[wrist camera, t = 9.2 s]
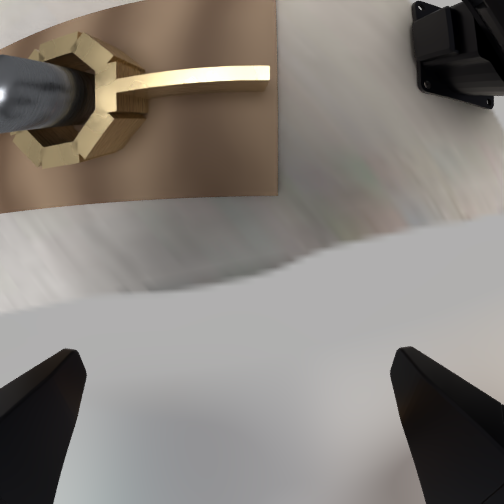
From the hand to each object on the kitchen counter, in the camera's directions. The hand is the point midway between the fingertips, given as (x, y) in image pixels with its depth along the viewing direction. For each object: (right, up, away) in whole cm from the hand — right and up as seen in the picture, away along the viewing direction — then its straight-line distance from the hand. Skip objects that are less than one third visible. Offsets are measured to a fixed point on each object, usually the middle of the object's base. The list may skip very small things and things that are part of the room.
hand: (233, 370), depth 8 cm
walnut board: (-8, +12, +8) cm, 16 cm away
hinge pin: (-8, +12, +7) cm, 16 cm away
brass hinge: (-8, +12, +7) cm, 16 cm away
